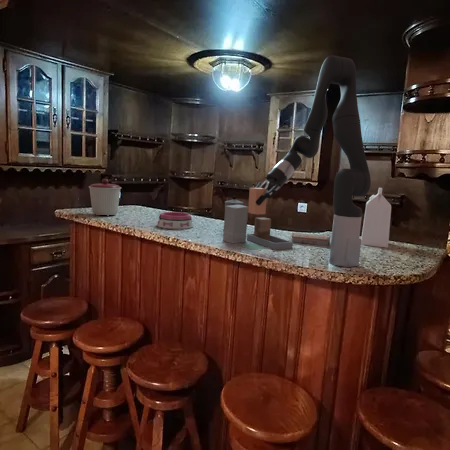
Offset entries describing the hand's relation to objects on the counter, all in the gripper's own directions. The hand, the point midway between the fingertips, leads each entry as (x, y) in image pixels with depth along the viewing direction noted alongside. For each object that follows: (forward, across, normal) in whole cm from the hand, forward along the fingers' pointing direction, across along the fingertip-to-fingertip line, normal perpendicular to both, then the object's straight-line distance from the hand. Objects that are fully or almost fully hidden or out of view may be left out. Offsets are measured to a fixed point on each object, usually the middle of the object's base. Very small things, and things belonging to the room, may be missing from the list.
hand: (253, 203), depth 147 cm
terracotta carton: (+2, 0, +4) cm, 5 cm away
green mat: (+12, 0, +13) cm, 18 cm away
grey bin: (+5, -3, +20) cm, 21 cm away
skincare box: (+14, -11, +12) cm, 21 cm away
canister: (+41, -97, -15) cm, 107 cm away
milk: (-32, +6, +58) cm, 67 cm away
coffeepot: (+6, -34, +20) cm, 40 cm away
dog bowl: (+22, -54, +4) cm, 58 cm away
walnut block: (+5, -8, +20) cm, 22 cm away
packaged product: (-8, 0, +34) cm, 35 cm away
